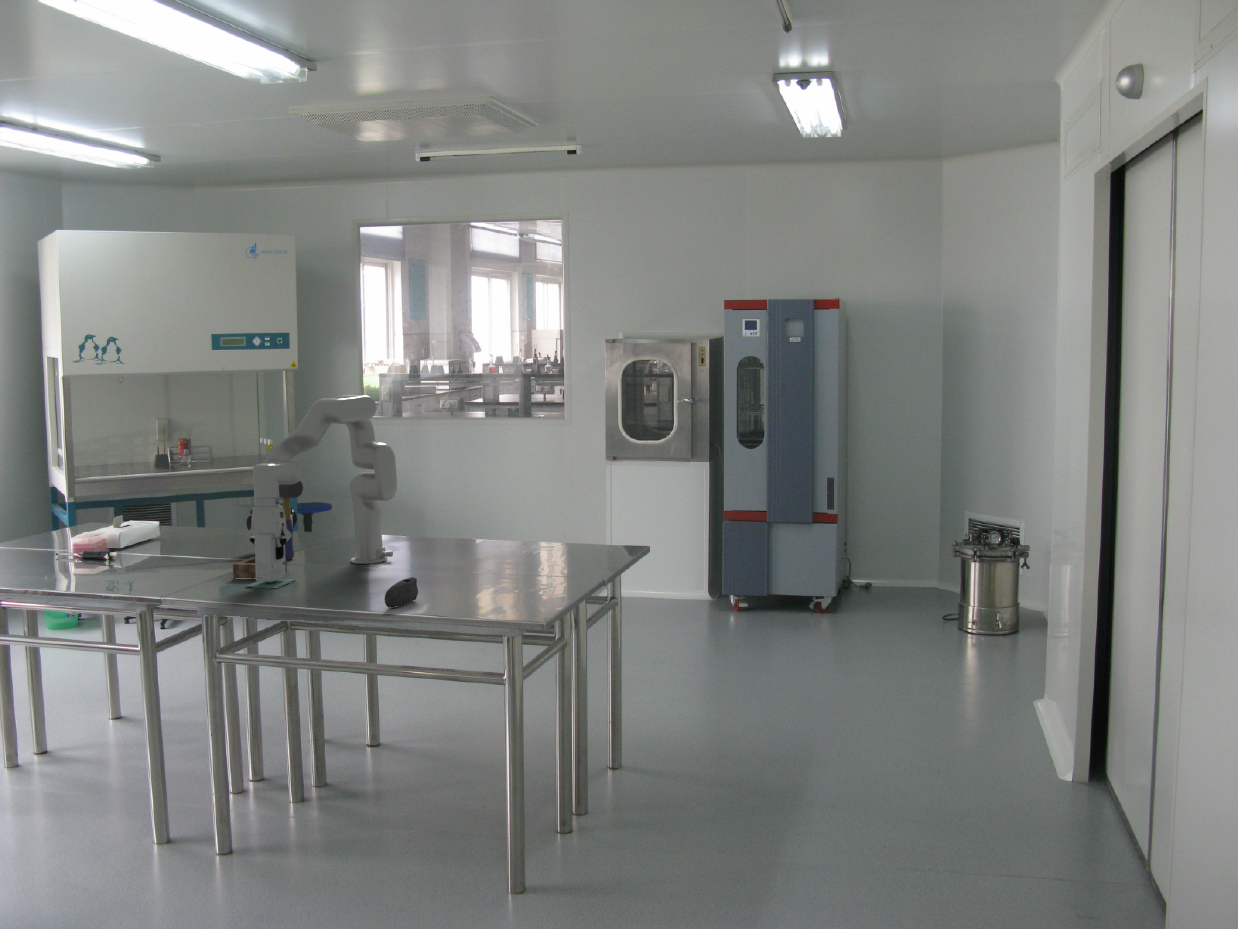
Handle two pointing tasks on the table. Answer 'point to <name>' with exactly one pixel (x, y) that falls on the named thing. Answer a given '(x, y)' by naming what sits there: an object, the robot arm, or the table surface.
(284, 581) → the rubber mat
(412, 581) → the perforated stone tool
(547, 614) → the table surface
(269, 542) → the skincare box
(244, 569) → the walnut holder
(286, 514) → the rubber mallet
